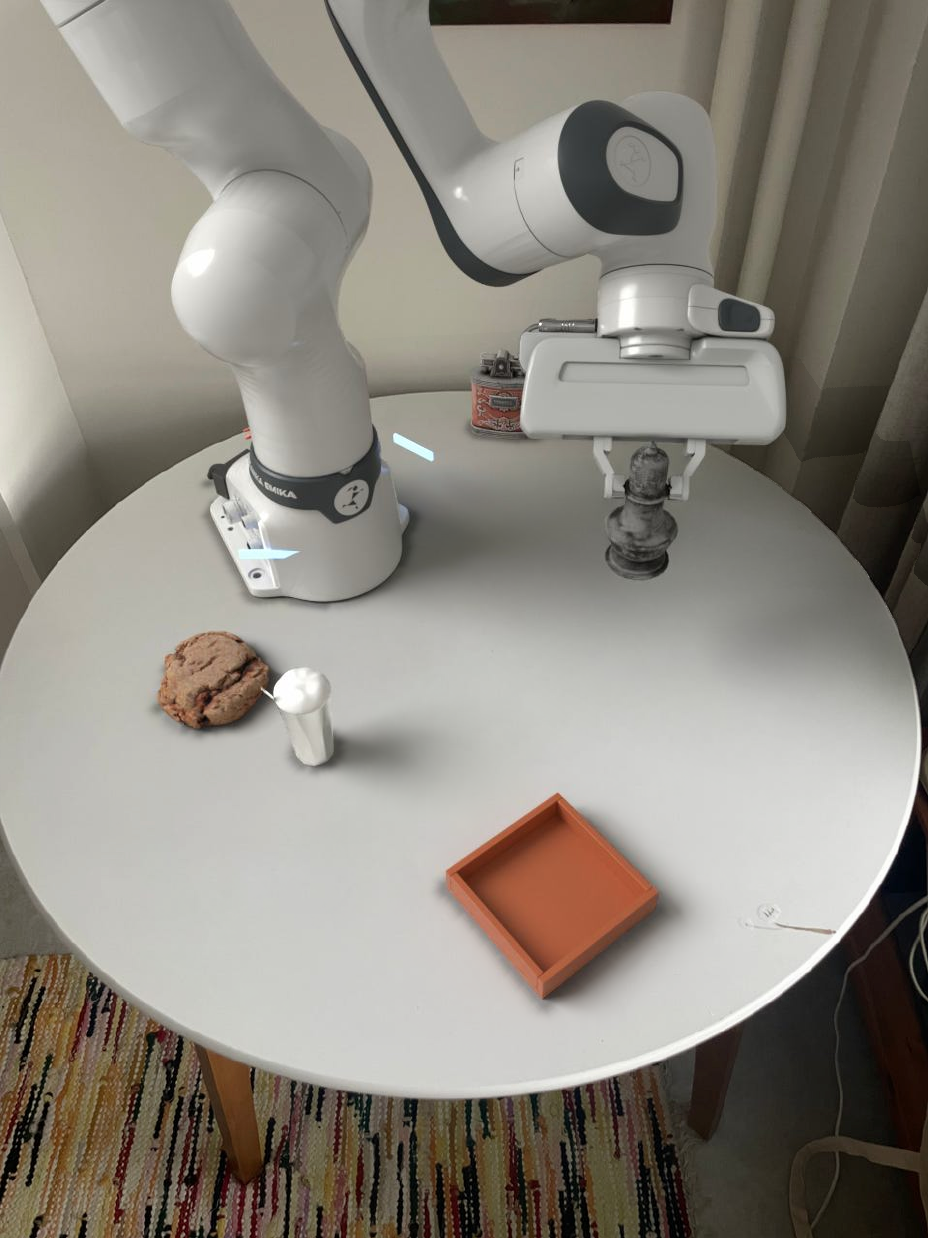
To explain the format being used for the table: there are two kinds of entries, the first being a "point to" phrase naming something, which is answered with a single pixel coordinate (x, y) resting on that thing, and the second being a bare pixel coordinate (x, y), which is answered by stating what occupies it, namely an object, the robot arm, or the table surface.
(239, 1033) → the table surface
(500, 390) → the lighter
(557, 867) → the tray
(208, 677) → the cookie
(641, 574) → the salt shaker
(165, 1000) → the table surface
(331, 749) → the milkshake cup
